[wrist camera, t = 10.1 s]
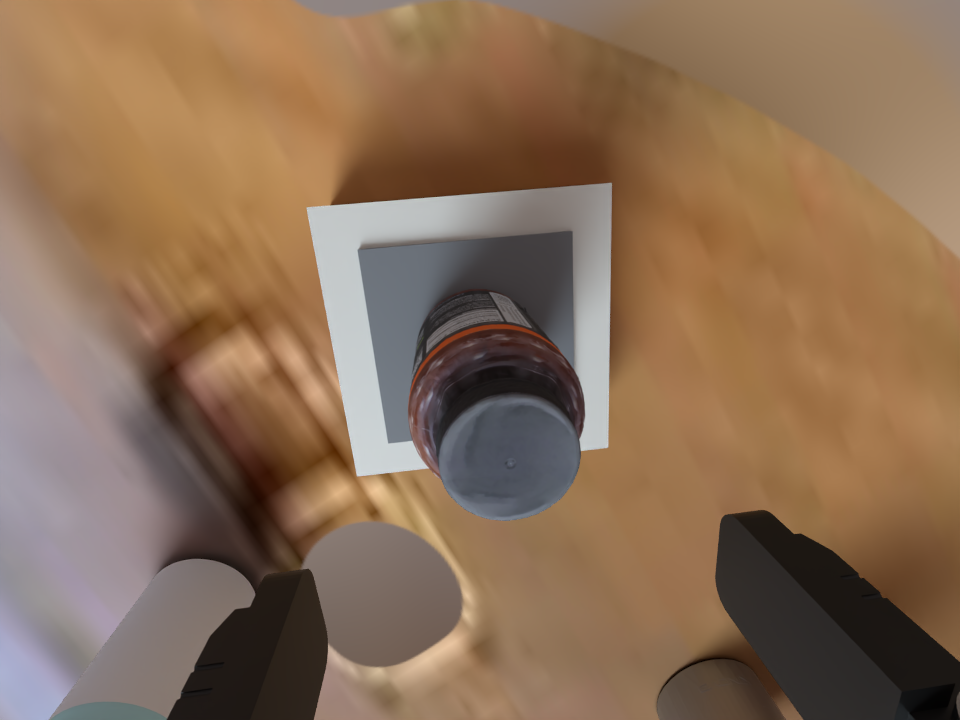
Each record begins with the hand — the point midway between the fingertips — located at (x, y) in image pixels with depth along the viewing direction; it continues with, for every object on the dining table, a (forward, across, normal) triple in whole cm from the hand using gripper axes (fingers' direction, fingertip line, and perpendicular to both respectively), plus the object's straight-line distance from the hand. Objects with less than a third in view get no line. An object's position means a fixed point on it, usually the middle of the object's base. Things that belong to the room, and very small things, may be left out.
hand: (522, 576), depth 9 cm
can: (+21, +20, +18) cm, 34 cm away
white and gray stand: (+21, 0, 0) cm, 21 cm away
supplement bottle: (+15, 0, 0) cm, 15 cm away
